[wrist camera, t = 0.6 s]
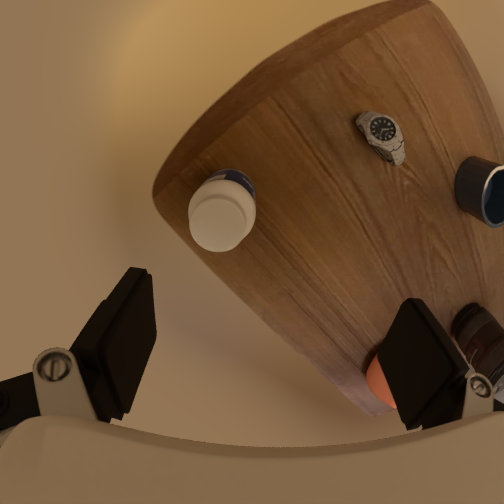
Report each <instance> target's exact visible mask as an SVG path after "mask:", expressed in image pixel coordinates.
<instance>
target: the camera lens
mask: <svg viewBox="0 0 504 504" xmlns="http://www.w3.org/2000/svg"><path fill="white" fill-rule="evenodd" d="M452 330H453V333H454V334H455V340H456V341H457V343H458V345H459V347H460V349H461V350H462V352H463V353H464V355H465V356H466V360H467V361H468V363H469V364H471V365H472V366H473V368H474V369H475V372H476V373H479V374H482V375H483V376H485V377H486V378H487V379H488V380H489V381H490V383H491V384H492V387H493V391H494V394H496V393H498V392H500V391H501V390H502V389H503V388H504V329H503V328H502V327H501V325H500V324H499V323H498V322H497V320H496V319H495V318H494V317H493V315H492V314H491V313H490V312H488V311H487V310H486V309H485V308H484V307H480V306H479V305H478V304H476V303H473V304H470V305H468V306H466V307H465V308H464V309H463V310H462V311H461V312H460V313H459V314H458V315H457V317H456V318H455V320H454V323H453V326H452Z"/></svg>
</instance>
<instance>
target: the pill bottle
mask: <svg viewBox="0 0 504 504" xmlns="http://www.w3.org/2000/svg"><path fill="white" fill-rule="evenodd" d="M188 216H189V221H190V222H189V227H190V232H191V235H192V237H193V239H194V240H195V241H196V243H197V244H198V245H200V246H201V247H203V248H204V249H206V250H209V251H212V252H224V251H228V250H230V249H232V248H234V247H235V246H237V245H238V244H239V243H240V241H241V240H242V239H243V238H244V237H246V236H247V235H248V233H249V232H250V231H251V229H252V227H253V225H254V222H255V217H256V193H255V188H254V185H253V183H252V181H251V180H250V178H249V177H248V176H247V175H246V174H244V173H243V172H241V171H239V170H236V169H222V170H219V171H217V172H215V173H213V174H212V175H211V176H210V177H209V178H208V179H207V180H206V181H205V182H204V183H203V184H202V185H201V186H200V187H199V189H198V190H197V191H196V192H195V194H194V195H193V197H192V198H191V201H190V204H189V209H188Z"/></svg>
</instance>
